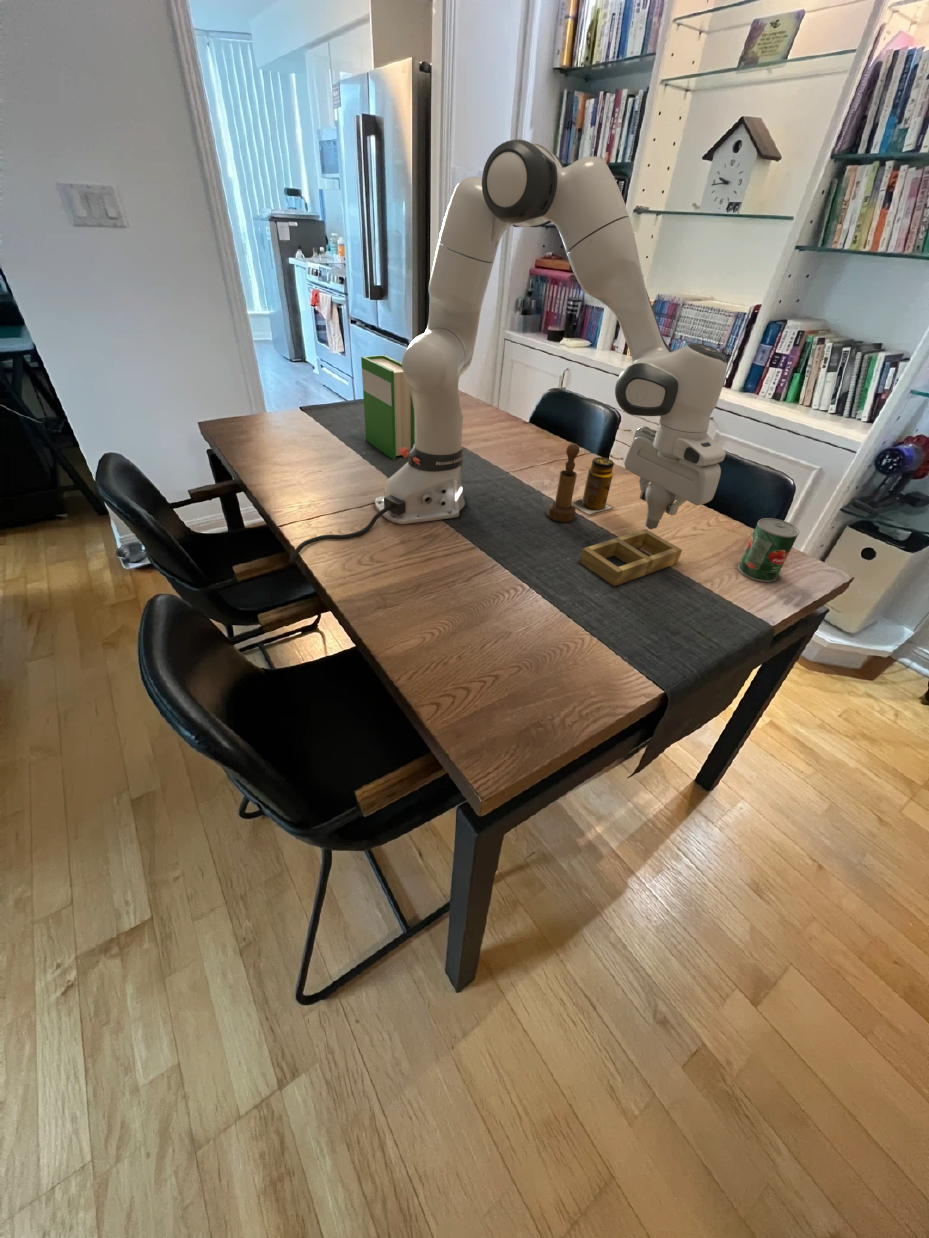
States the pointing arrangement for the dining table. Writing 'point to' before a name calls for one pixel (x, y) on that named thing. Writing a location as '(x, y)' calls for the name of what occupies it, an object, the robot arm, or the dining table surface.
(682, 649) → the dining table surface
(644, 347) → the robot arm
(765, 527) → the canned tomato
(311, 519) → the dining table surface
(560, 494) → the mortar and pestle
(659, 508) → the lightbulb
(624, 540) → the rack
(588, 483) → the condiment
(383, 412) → the hardback book
